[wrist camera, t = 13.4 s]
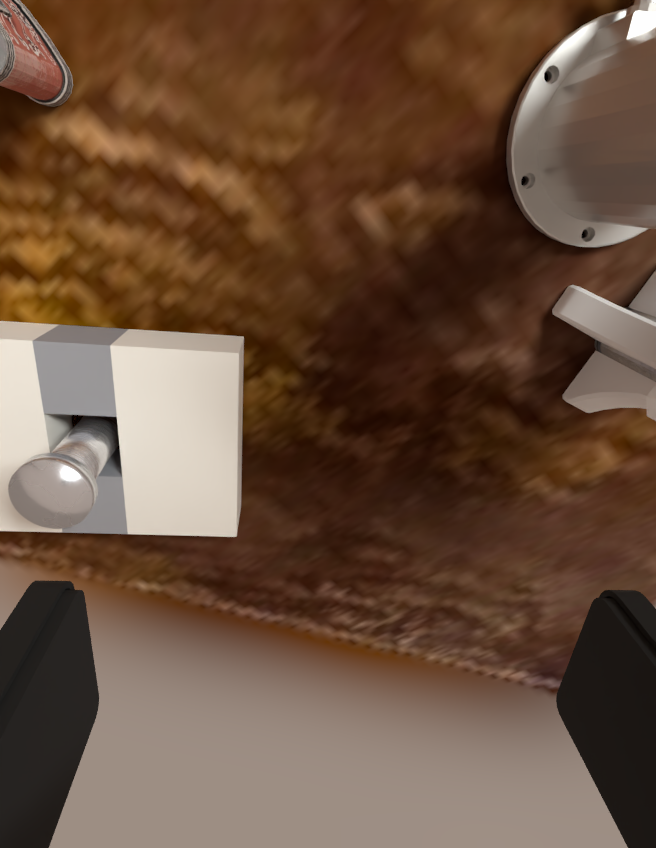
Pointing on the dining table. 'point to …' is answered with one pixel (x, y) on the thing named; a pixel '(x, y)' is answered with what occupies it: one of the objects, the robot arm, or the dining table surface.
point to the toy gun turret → (614, 350)
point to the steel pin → (65, 475)
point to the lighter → (30, 57)
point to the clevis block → (130, 422)
